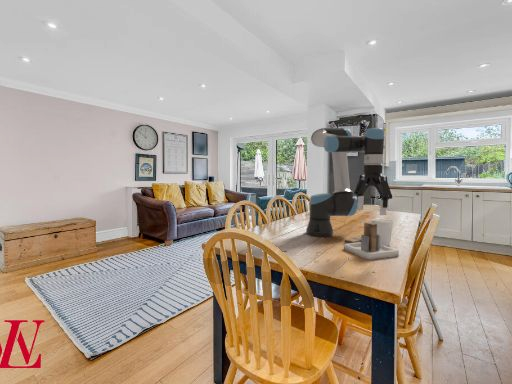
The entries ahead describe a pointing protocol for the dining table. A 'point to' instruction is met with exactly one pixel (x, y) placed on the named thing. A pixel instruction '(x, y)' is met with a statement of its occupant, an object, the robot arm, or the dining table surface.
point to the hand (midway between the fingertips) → (371, 212)
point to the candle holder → (384, 230)
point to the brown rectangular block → (371, 234)
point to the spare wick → (353, 240)
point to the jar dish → (363, 251)
